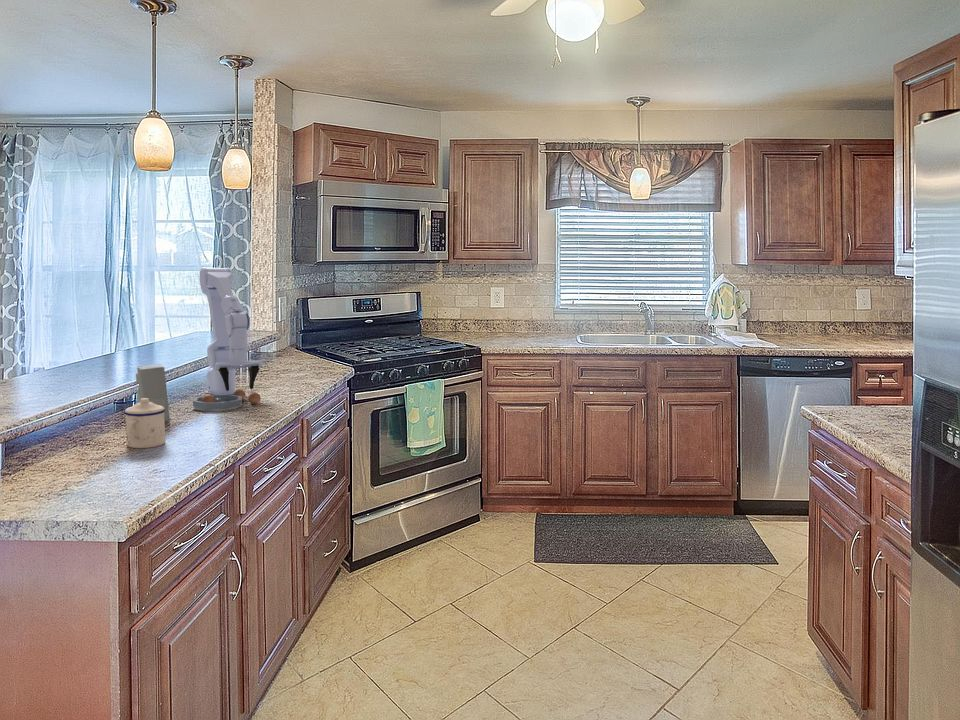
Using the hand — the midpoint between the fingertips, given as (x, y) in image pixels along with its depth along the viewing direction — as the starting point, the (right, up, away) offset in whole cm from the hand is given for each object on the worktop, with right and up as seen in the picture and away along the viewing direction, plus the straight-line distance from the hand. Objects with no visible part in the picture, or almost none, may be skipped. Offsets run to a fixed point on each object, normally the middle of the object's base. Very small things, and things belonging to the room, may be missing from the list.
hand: (239, 389), depth 225 cm
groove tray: (-3, -5, -10) cm, 11 cm away
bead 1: (0, -2, 0) cm, 2 cm away
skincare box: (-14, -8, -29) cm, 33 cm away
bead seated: (-5, -3, -13) cm, 14 cm away
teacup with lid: (-4, -12, -56) cm, 57 cm away
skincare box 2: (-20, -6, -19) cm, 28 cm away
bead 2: (+6, -3, -4) cm, 8 cm away
